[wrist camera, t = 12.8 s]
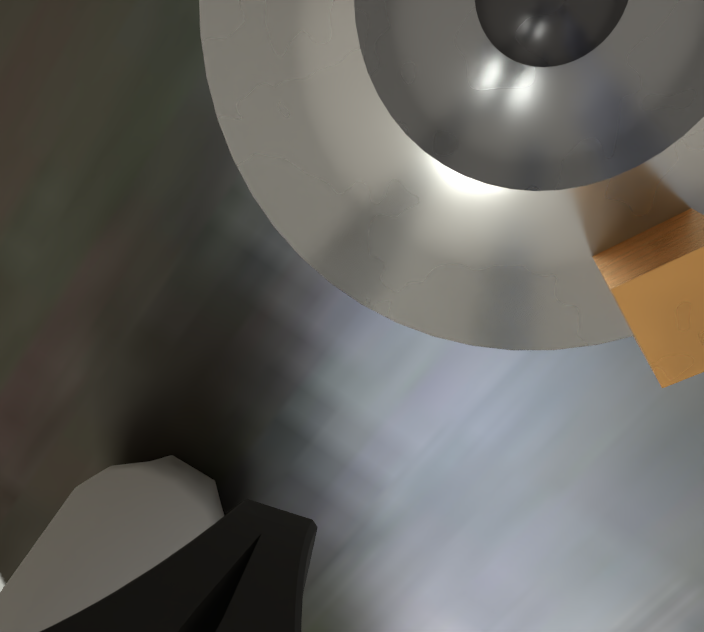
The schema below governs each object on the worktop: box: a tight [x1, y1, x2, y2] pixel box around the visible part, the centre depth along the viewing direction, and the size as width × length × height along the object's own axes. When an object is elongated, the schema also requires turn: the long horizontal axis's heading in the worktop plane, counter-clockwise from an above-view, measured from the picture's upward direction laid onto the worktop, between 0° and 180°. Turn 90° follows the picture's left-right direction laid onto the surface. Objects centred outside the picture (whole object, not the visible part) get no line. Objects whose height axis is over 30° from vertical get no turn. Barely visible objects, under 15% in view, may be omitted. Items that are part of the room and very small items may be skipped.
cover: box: [354, 0, 704, 191], centre depth 13 cm, size 7×7×4 cm
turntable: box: [199, 0, 704, 388], centre depth 14 cm, size 16×16×4 cm
